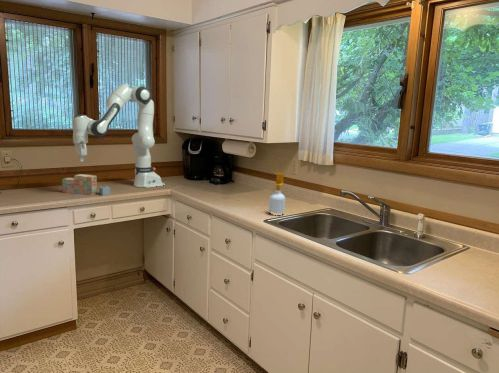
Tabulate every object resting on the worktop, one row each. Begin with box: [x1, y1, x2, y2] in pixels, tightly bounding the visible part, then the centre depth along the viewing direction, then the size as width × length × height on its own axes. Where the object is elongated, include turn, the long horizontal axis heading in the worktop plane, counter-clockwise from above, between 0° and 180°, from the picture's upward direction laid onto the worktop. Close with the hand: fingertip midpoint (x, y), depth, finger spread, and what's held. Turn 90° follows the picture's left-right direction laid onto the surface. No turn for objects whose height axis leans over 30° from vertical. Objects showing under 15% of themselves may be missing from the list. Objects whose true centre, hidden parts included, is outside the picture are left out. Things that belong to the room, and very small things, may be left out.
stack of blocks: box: [61, 173, 98, 196], centre depth 256 cm, size 21×6×12 cm, turn 80°
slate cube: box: [98, 185, 111, 196], centre depth 256 cm, size 5×5×5 cm
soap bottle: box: [268, 172, 286, 213], centre depth 224 cm, size 9×9×25 cm
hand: (81, 161), depth 254 cm, fingers closed
